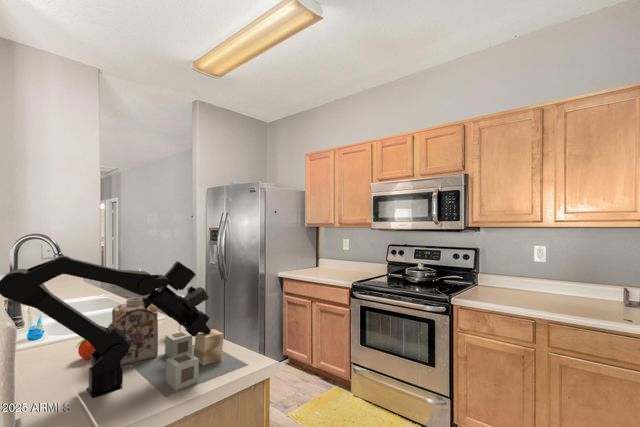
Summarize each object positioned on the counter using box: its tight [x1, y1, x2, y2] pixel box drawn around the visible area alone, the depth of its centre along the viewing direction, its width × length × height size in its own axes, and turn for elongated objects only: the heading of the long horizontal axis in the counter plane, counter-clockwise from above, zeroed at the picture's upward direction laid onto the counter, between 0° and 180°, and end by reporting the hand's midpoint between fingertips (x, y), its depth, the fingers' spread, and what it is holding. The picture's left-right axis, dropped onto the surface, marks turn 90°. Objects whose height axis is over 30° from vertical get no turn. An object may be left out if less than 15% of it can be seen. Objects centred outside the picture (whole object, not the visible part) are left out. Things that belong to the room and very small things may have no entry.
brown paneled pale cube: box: [164, 330, 193, 358], centre depth 103 cm, size 6×6×6 cm
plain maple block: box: [194, 328, 224, 365], centre depth 99 cm, size 6×6×8 cm
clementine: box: [75, 338, 95, 361], centre depth 99 cm, size 8×7×7 cm
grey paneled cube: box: [166, 352, 199, 390], centre depth 85 cm, size 6×6×6 cm
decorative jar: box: [111, 296, 159, 366], centre depth 102 cm, size 12×12×18 cm
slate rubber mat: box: [129, 344, 249, 398], centre depth 96 cm, size 24×26×1 cm
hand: (209, 332), depth 99 cm, fingers closed, pressing on plain maple block
